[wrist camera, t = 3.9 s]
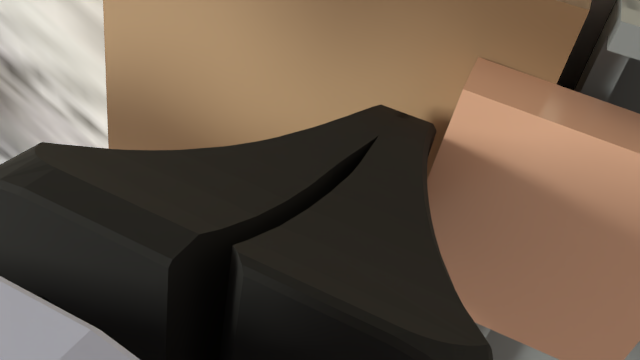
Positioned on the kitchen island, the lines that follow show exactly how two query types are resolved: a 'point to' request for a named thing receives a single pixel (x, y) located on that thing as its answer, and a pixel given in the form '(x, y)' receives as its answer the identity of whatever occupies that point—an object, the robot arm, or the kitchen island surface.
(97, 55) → the kitchen island surface
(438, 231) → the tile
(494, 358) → the tray
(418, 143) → the robot arm
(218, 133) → the walnut board
